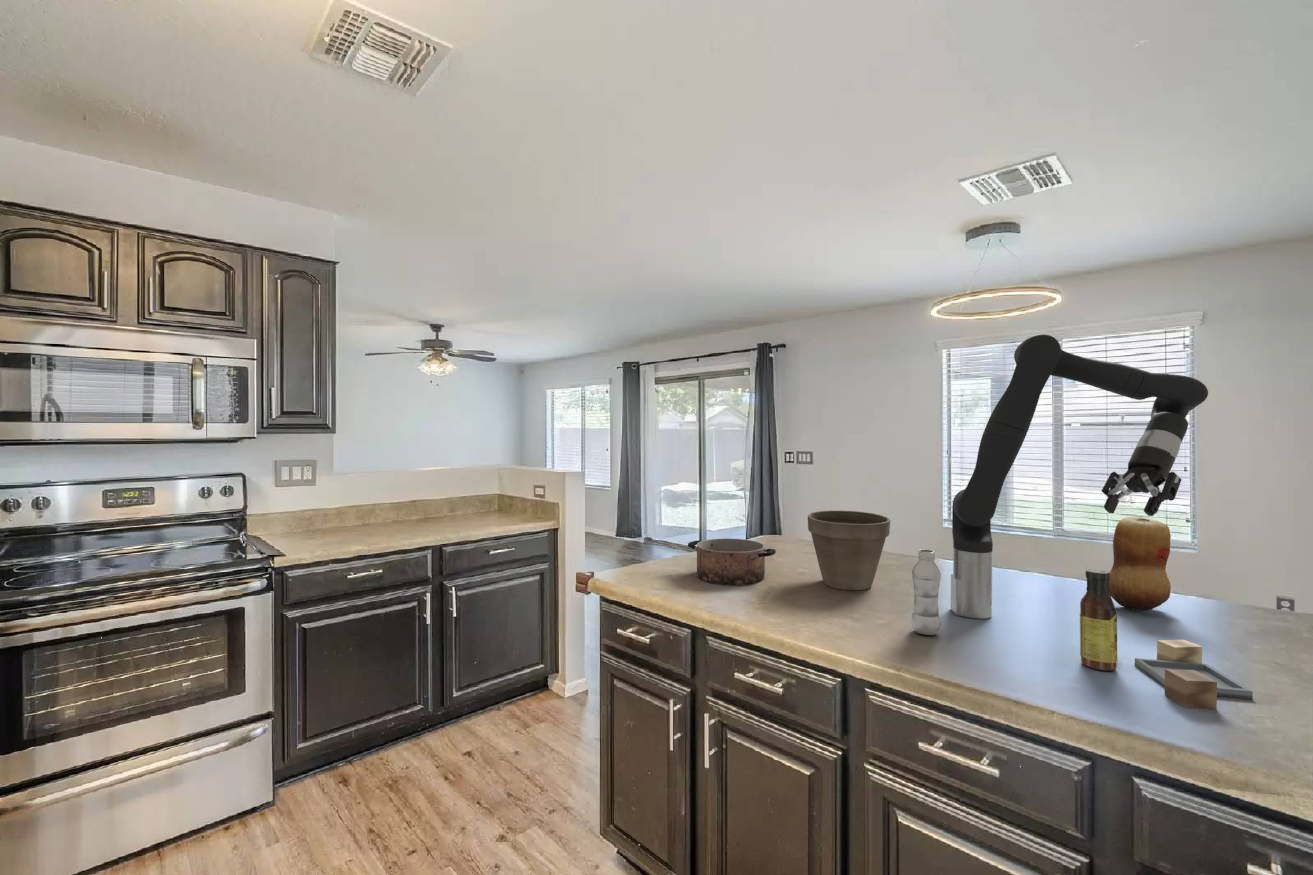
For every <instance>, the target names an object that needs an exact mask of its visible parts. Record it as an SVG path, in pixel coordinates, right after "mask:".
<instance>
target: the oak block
mask: <svg viewBox="0 0 1313 875" xmlns="http://www.w3.org/2000/svg"><path fill="white" fill-rule="evenodd" d="M1156 641H1157V642H1156V643H1157V644H1156V660H1163V661H1175V662H1187V663H1200V664H1203V646H1202V645H1199V644H1197V643H1194V642H1191V641H1188V640H1186V639H1161V640H1160V639H1157V640H1156Z"/></svg>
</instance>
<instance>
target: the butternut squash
mask: <svg viewBox="0 0 1313 875" xmlns="http://www.w3.org/2000/svg"><path fill="white" fill-rule="evenodd" d="M1113 533H1114V534H1113V539H1112V550H1113V564H1112V567H1111V569H1110V571H1109V573H1110V579H1109V593H1110V596H1111V598H1112V600H1113V601H1115V602H1116V603H1117V604H1118V605H1119V606H1121V607H1123V608H1124V609H1128V610H1136V611H1142V612H1143V611H1152V610H1153V609H1156V608H1157V607H1160V606H1162V605H1163V604H1164V603H1166V602H1167V601H1168V599H1170V596H1171V590H1172V589H1171V588H1172V585H1171V581H1170V579H1169V577H1168V574H1167V572H1166V568H1167V562H1168V559H1169V557H1170V554H1171V538H1172V537H1171V530H1170V528H1169V526H1168V525H1167V524H1166V523H1164V522H1161V521H1158V520H1154V519H1150V518H1146V517H1143V516H1142V517H1141V516H1128V517H1124V518H1122V519H1120V520H1119V521H1118V523H1117V524H1116V525H1115V528H1114V532H1113Z"/></svg>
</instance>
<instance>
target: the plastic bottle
mask: <svg viewBox="0 0 1313 875" xmlns="http://www.w3.org/2000/svg"><path fill="white" fill-rule="evenodd" d="M917 552H918V554H917V558H918V561H917V562H916V563H915V565H914V566H913V568H912V570H911V576H912V584H913V594H914V595H913V597H914V598H913V608H912V610H913V612H912V615H911V621H910V622H911V628H912V629H913V631H914V632H915V633H917V634H920V635H924V636H925V635H926V636H934V635H935V636H936V635H938V633H939V632H940V629H941V618H940V615H939V612H940V611H939V591H940V590H939V589H940V584H941V578H942V577H941V575H942V574H941V570H940V569H939V566H937V564H936V563H935V560H936V555H935V551H934V550H930V549H918V551H917Z"/></svg>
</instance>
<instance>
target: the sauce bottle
mask: <svg viewBox="0 0 1313 875" xmlns="http://www.w3.org/2000/svg"><path fill="white" fill-rule="evenodd" d="M1085 577H1086V588H1085V589H1086V593H1085V594H1084V595H1083V597H1081V600H1080V603H1079V604H1080V605H1079V606H1080V610H1079V611H1080V613H1079V656H1080V662H1081V663H1082V665H1083V666H1085V667H1086V668H1090V669H1093V670H1097V671H1105V672H1106V671H1107V672H1112V671H1115V670H1116V669H1117V662H1118V610H1117V608H1116V606H1115V603H1114V600H1113V598H1112V597H1111V596H1110V593H1109V579H1110V571H1107V570H1103V569H1094V568H1092V569H1086V570H1085Z"/></svg>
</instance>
